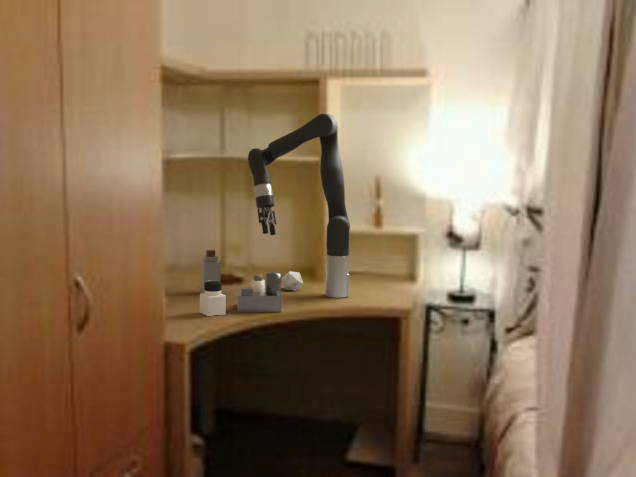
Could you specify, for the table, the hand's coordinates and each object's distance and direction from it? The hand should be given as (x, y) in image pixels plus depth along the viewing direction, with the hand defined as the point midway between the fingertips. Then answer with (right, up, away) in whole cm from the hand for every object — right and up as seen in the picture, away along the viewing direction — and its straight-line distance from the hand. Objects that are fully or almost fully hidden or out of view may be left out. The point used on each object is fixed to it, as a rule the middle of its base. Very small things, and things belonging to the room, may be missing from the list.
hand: (269, 234), depth 270 cm
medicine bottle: (-18, -29, -36) cm, 49 cm away
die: (+9, -24, +12) cm, 28 cm away
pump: (-3, -28, -21) cm, 35 cm away
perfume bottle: (-24, -25, 0) cm, 35 cm away
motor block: (-2, -28, -24) cm, 37 cm away
